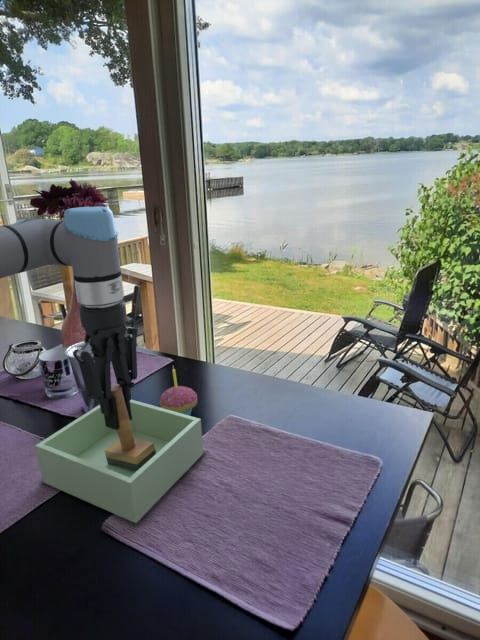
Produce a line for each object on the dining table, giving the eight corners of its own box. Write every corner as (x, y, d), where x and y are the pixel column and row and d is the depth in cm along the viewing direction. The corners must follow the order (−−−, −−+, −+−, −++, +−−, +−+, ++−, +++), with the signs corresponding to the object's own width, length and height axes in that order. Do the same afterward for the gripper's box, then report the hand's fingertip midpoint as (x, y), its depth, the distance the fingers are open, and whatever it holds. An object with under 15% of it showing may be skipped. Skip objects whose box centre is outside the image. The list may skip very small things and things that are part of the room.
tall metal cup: (111, 421, 99) (92, 293, 89) (65, 418, 101) (41, 293, 91) (130, 397, 109) (115, 280, 99) (88, 395, 111) (68, 279, 101)
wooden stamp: (107, 464, 83) (88, 392, 80) (126, 449, 88) (108, 380, 84) (139, 471, 79) (119, 396, 75) (156, 456, 83) (139, 384, 79)
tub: (43, 482, 81) (35, 445, 78) (119, 426, 97) (114, 394, 94) (136, 523, 71) (130, 483, 68) (203, 453, 87) (200, 418, 84)
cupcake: (156, 413, 102) (151, 366, 98) (190, 403, 105) (187, 358, 101) (168, 431, 95) (163, 382, 91) (204, 420, 98) (201, 372, 94)
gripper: (81, 319, 66) (103, 451, 74) (149, 292, 79) (161, 407, 87) (47, 312, 69) (71, 440, 77) (117, 288, 82) (132, 399, 90)
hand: (119, 422), depth 82 cm, fingers closed on wooden stamp, 3 cm apart
